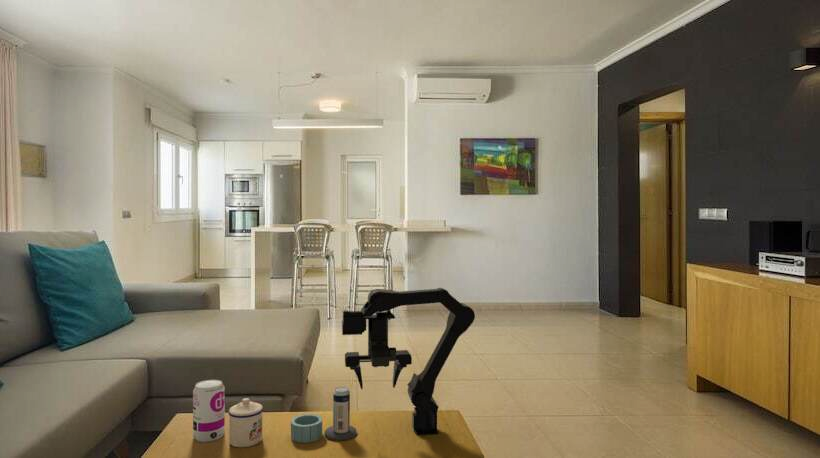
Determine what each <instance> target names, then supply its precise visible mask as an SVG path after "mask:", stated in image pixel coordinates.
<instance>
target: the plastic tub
mask: <svg viewBox="0 0 820 458" xmlns="http://www.w3.org/2000/svg"><path fill="white" fill-rule="evenodd" d="M322 437H323V417H322V416H321V415H318V414H313V413H307V414H306V413H305V414H300V415H296V416H294V417H293V418H291V419H290V439H291V440H292V441H293V442H295V443H299V444H308V443H315V442H317V441H319V440H320V439H321V438H322Z"/></svg>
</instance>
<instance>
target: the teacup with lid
mask: <svg viewBox="0 0 820 458" xmlns="http://www.w3.org/2000/svg"><path fill="white" fill-rule="evenodd" d="M263 411H264V407H263V405H262V404H261V403H259V402H254V401H251V400H250V398H248V397H246V398H243V399H242V401H241V402H238V403H237V404H235V405H233V406H231V407H230V408H229V409H228V415H229V418H228V419H229V420H228V421H229V422H228V423H229V424H228V425H229V430H228V431H229V432H228V433H229V435H228V437H229V438H228V439H229V441H228V442H229V444H230V445H231V446H232V447H235V448H249V447H252V446H255V445H258V444H259V443H260V442H261V441H262V440H263Z"/></svg>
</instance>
